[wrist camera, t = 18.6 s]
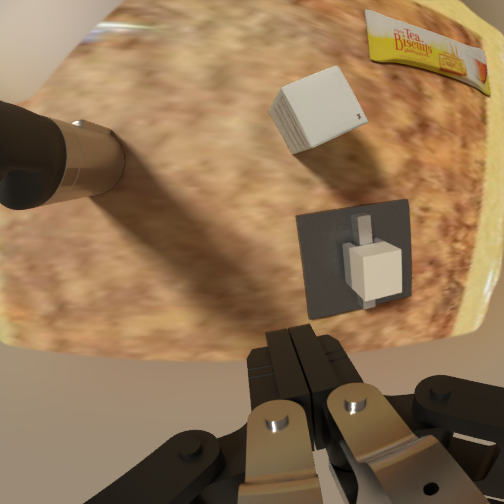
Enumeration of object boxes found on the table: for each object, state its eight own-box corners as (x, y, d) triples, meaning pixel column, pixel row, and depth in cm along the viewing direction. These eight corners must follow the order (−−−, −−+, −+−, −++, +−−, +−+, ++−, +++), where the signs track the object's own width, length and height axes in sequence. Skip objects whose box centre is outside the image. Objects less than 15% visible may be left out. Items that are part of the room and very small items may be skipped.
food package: (372, 57, 38) (366, 6, 36) (366, 61, 40) (361, 11, 38) (494, 95, 40) (487, 49, 37) (487, 96, 42) (480, 52, 40)
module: (342, 243, 45) (362, 257, 38) (376, 237, 45) (401, 249, 38) (345, 282, 47) (365, 301, 39) (378, 274, 47) (402, 292, 39)
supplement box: (311, 90, 41) (339, 63, 28) (335, 135, 42) (371, 123, 30) (266, 110, 41) (279, 86, 29) (290, 156, 43) (312, 149, 30)
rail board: (295, 215, 45) (300, 218, 41) (404, 198, 45) (416, 200, 42) (308, 317, 49) (313, 327, 45) (408, 293, 49) (418, 300, 46)
